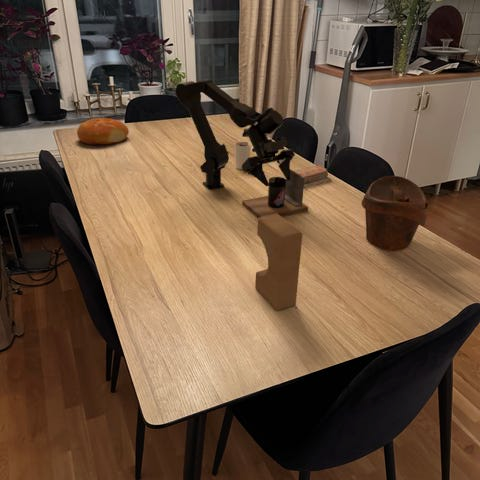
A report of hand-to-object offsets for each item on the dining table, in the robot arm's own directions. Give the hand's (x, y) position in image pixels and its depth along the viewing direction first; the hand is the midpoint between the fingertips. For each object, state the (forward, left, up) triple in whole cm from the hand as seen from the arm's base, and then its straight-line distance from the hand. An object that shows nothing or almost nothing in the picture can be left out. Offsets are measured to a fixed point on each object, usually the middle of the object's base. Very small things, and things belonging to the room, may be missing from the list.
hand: (278, 183), depth 151 cm
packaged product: (-18, +24, -10) cm, 32 cm away
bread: (-103, -36, -10) cm, 109 cm away
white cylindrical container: (-42, +8, -10) cm, 44 cm away
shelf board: (-2, 0, -10) cm, 10 cm away
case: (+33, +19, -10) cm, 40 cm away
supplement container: (-1, 0, -8) cm, 8 cm away
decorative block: (+42, -26, -10) cm, 51 cm away
